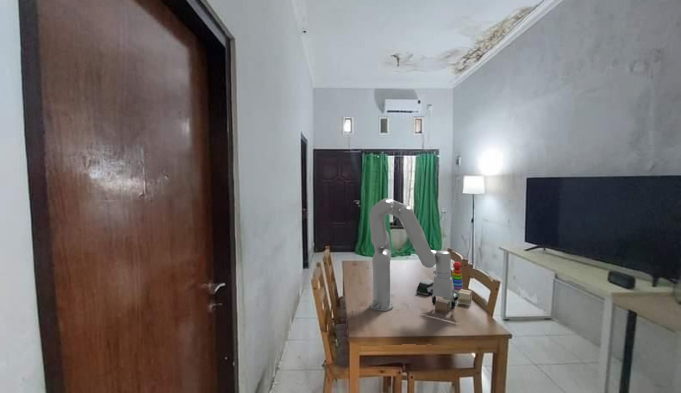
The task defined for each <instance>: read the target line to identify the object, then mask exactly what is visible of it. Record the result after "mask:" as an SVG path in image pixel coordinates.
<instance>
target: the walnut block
mask: <svg viewBox="0 0 681 393" xmlns="http://www.w3.org/2000/svg"><path fill="white" fill-rule="evenodd" d="M450 311H451V307H450V301H449V300H444V299H443V298H440V297H439V298H436V301H435V305H434V312H436V313H440V314H443V315H447V314H448V313H450Z"/></svg>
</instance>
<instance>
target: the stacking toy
mask: <svg viewBox="0 0 681 393" xmlns="http://www.w3.org/2000/svg"><path fill="white" fill-rule="evenodd" d="M452 267H453V269H452V272H451V277H452V280H453V286H454V290H456V291H457V292H459V291H460V290H461V289H463V288H464V287H463V285H464V283H463V276H462V269H461V268H462V263H461V262H460V261H454V262H453V264H452ZM463 290H464V289H463Z"/></svg>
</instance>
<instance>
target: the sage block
mask: <svg viewBox="0 0 681 393" xmlns="http://www.w3.org/2000/svg"><path fill="white" fill-rule="evenodd" d="M453 296H454V297H456V296H457V295H456V294H455V293H454V295H453ZM442 299H444V300H449V301H450V308H451V302H452V300H451V299H450V298H445V297H442ZM457 302H458V299H457V300H456V301H455V306H456V305H457ZM457 306H458V305H457ZM457 306H456V307H457Z"/></svg>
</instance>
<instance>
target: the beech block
mask: <svg viewBox="0 0 681 393" xmlns="http://www.w3.org/2000/svg"><path fill="white" fill-rule="evenodd" d="M459 293H460V294H461V295H460V297H459V298H458V299H457V302H458V304H460V303H462V304H461V305H465V304H467V305H466V306H469V305H470V303H471V302H472V301H473V300H472V299H473V291H472V290H467V289H461V290H460V291H459ZM472 303H473V302H472ZM470 306H471V305H470Z"/></svg>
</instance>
